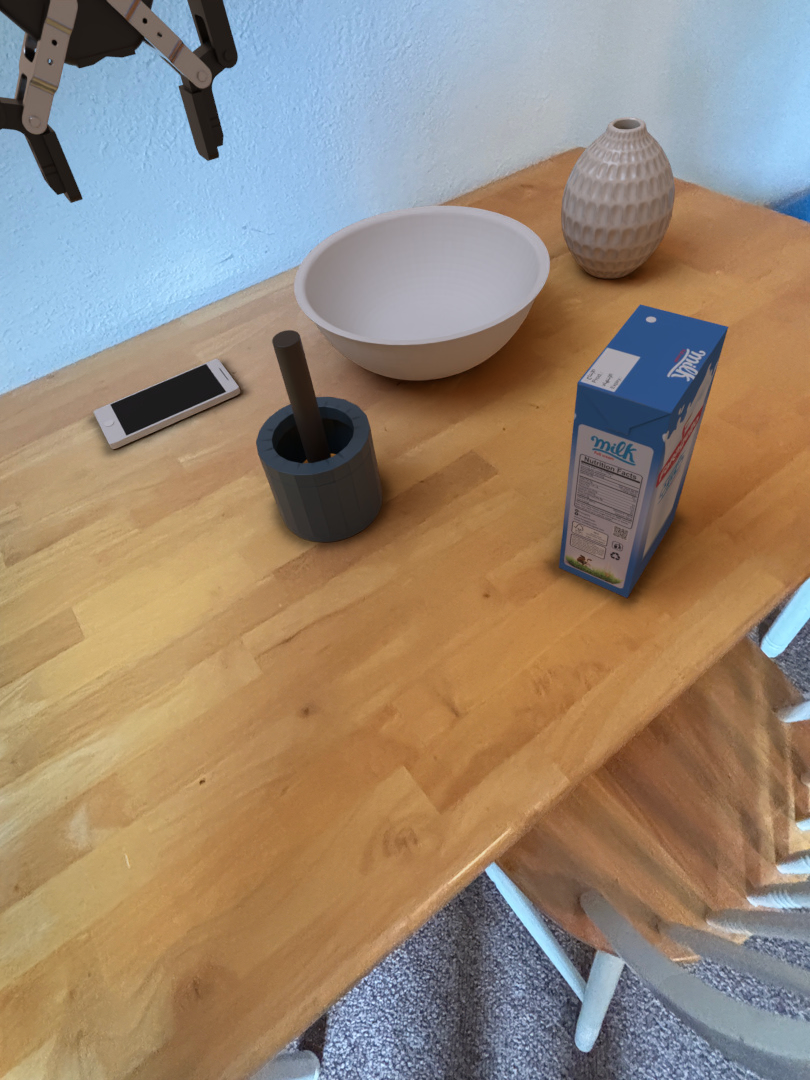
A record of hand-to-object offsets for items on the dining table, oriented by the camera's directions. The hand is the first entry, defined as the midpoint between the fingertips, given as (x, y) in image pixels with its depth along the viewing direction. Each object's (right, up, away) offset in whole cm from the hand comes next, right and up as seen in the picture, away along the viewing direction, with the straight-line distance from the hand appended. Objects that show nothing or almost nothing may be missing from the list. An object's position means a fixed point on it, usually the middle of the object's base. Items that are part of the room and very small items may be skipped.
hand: (143, 176), depth 43 cm
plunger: (+8, -18, +26) cm, 32 cm away
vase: (+42, +13, +47) cm, 64 cm away
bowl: (+18, +1, +41) cm, 45 cm away
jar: (+9, -18, +26) cm, 33 cm away
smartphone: (-11, -7, +39) cm, 41 cm away
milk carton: (+34, -22, +20) cm, 45 cm away
